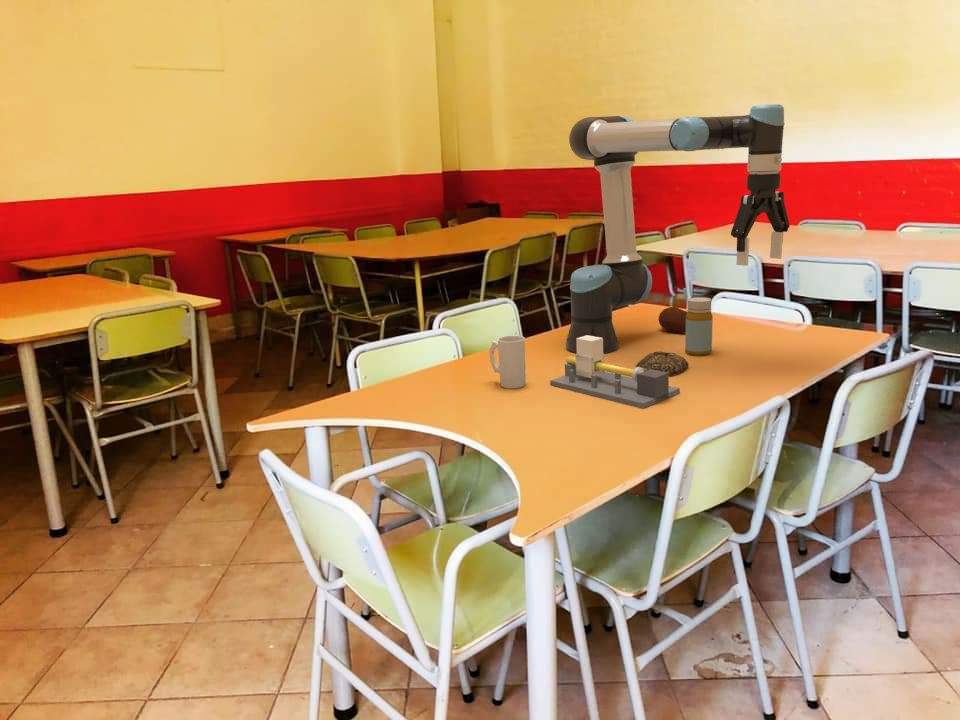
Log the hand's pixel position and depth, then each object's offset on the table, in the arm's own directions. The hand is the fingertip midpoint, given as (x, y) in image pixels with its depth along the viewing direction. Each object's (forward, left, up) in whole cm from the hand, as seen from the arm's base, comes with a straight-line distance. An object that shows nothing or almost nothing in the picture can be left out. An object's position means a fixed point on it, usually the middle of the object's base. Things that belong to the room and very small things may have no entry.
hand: (759, 261), depth 184 cm
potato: (-38, +20, -27) cm, 51 cm away
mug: (-40, -50, -27) cm, 69 cm away
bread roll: (-18, -16, -28) cm, 36 cm away
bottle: (-19, +3, -27) cm, 33 cm away
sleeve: (-24, -37, -24) cm, 50 cm away
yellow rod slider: (-17, -37, -27) cm, 48 cm away
